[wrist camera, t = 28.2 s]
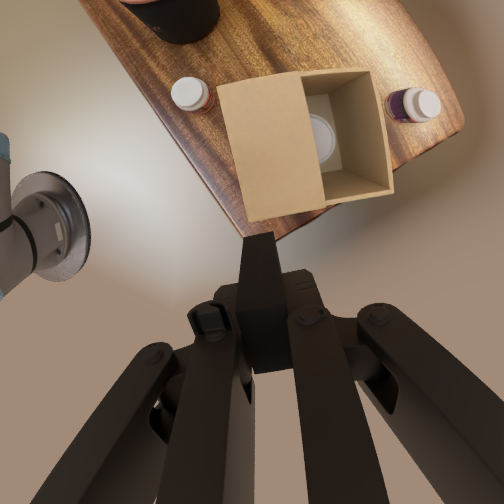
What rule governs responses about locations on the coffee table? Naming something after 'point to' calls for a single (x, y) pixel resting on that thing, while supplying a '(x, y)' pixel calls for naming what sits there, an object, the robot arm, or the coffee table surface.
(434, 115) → the pill bottle
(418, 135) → the coffee table surface
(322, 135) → the beverage can
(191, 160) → the coffee table surface
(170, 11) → the coffee jar
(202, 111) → the pill bottle
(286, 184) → the flap
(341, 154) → the carton
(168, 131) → the coffee table surface
